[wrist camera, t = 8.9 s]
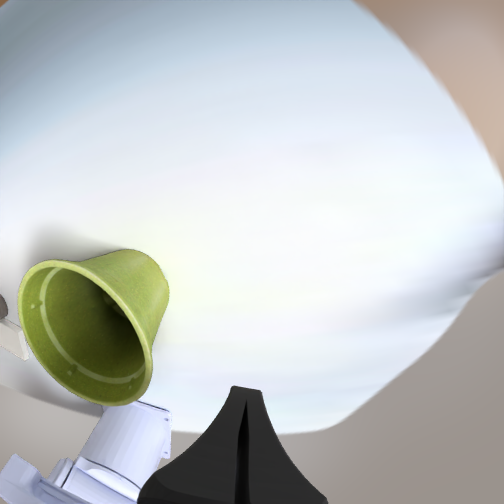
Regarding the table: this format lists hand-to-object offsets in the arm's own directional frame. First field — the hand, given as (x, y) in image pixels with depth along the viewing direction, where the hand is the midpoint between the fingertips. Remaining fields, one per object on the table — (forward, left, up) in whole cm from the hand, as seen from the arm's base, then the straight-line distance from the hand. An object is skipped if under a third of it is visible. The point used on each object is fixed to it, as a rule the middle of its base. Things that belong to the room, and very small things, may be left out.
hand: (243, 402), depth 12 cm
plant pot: (0, +9, -10) cm, 13 cm away
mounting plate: (-12, +28, -9) cm, 32 cm away
